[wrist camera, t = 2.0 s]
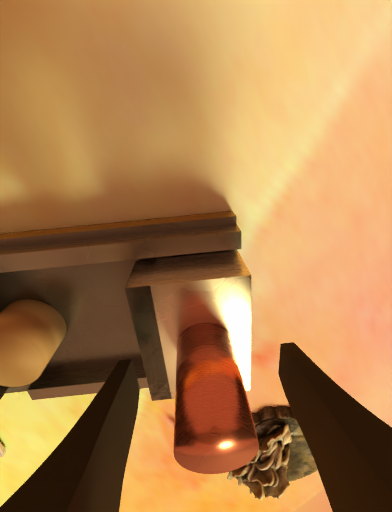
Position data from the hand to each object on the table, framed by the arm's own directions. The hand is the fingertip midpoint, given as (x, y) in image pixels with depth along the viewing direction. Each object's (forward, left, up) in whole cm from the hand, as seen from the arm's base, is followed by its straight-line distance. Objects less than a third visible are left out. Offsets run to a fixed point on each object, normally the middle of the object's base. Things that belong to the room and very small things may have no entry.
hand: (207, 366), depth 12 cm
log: (+6, -19, -7) cm, 21 cm away
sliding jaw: (-1, 0, -4) cm, 4 cm away
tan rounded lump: (-11, 0, -5) cm, 12 cm away
